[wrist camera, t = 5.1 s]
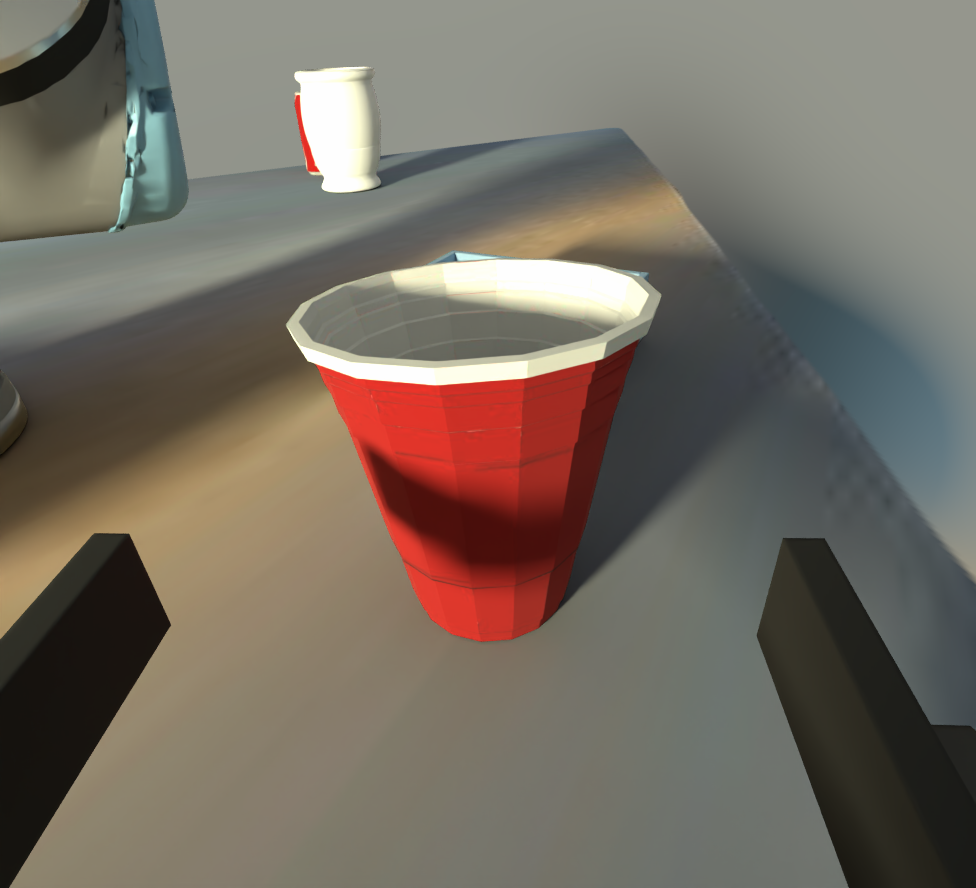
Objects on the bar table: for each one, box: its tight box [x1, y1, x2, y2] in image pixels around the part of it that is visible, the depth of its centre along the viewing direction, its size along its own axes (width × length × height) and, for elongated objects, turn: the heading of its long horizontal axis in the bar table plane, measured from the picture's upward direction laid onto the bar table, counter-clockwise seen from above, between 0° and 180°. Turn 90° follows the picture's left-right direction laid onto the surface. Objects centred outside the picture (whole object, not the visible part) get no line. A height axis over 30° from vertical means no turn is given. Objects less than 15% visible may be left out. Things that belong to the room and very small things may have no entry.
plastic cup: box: [286, 258, 662, 642], centre depth 22 cm, size 11×11×12 cm
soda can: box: [295, 91, 322, 175], centre depth 102 cm, size 6×6×12 cm
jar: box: [295, 67, 381, 193], centre depth 89 cm, size 11×10×15 cm
